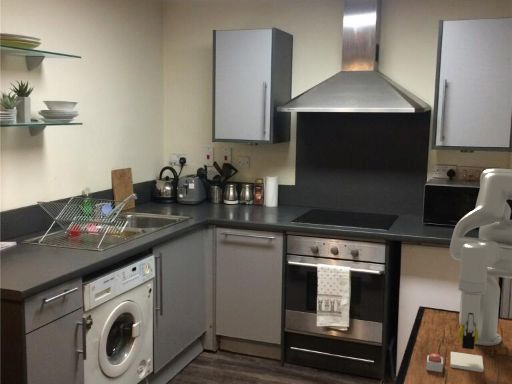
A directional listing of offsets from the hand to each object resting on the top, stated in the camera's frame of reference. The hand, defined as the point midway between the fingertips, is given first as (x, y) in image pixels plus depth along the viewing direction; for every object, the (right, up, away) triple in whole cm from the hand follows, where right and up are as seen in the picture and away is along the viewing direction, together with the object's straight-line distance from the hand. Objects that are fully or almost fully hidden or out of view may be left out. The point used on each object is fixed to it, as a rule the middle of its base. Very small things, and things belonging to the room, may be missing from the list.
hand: (467, 343), depth 167 cm
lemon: (0, -2, 0) cm, 1 cm away
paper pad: (0, -6, +1) cm, 6 cm away
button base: (-11, -7, -2) cm, 13 cm away
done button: (-11, -4, -2) cm, 12 cm away
